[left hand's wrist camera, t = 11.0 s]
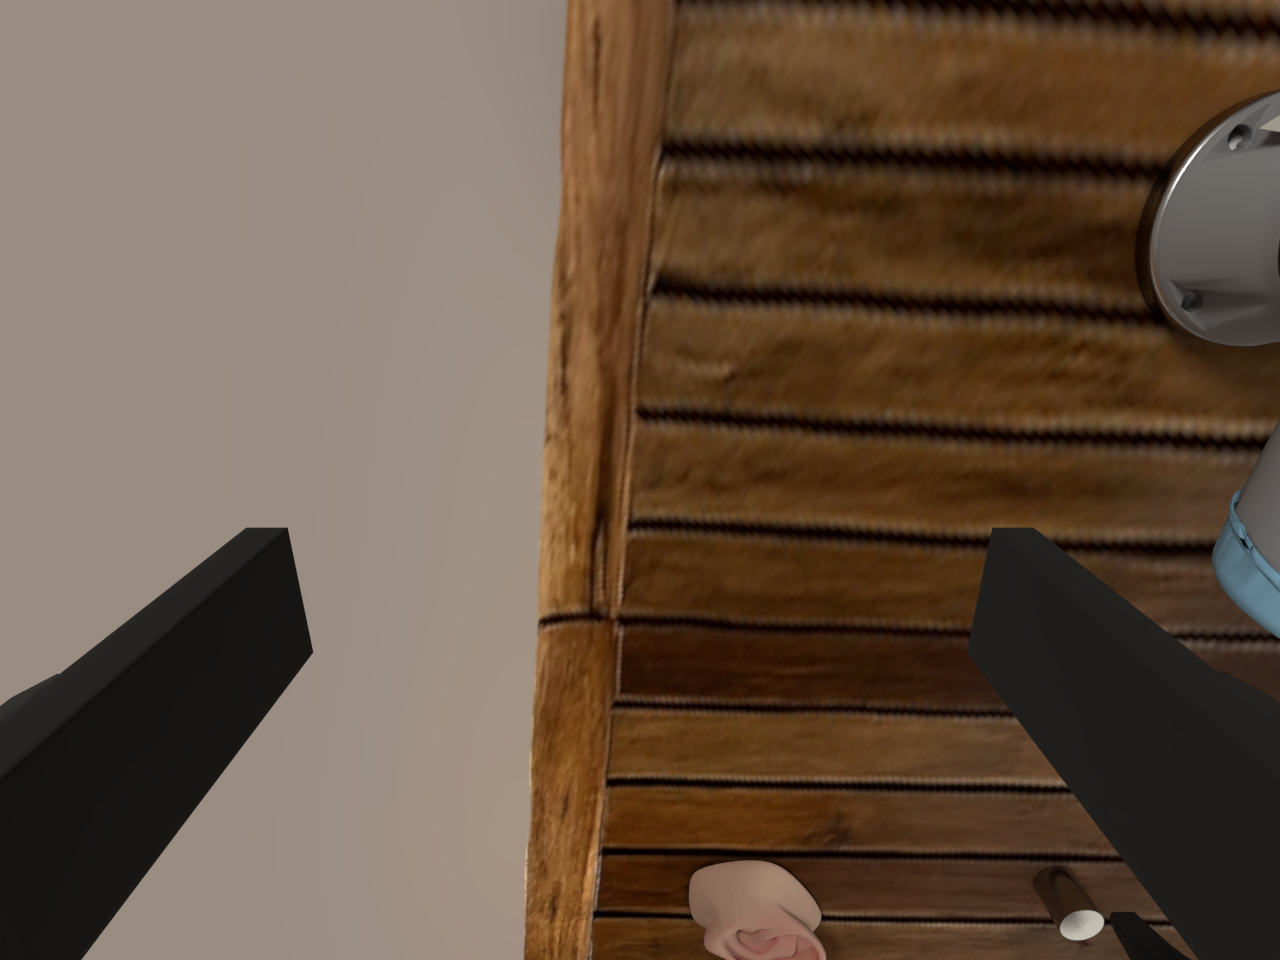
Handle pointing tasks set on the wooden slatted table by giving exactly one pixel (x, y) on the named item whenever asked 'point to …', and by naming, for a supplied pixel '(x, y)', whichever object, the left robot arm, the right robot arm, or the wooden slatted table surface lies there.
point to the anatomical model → (755, 912)
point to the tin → (1068, 903)
